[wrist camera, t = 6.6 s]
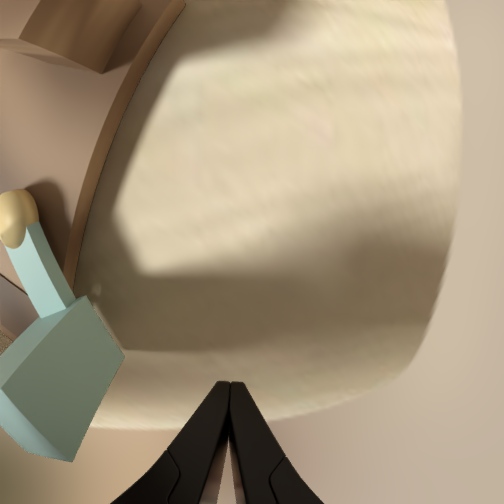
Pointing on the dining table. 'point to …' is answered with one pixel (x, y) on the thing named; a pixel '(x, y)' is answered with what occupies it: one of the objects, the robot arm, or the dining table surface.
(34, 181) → the stool seat
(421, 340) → the dining table surface
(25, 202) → the hinged leg
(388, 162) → the dining table surface
